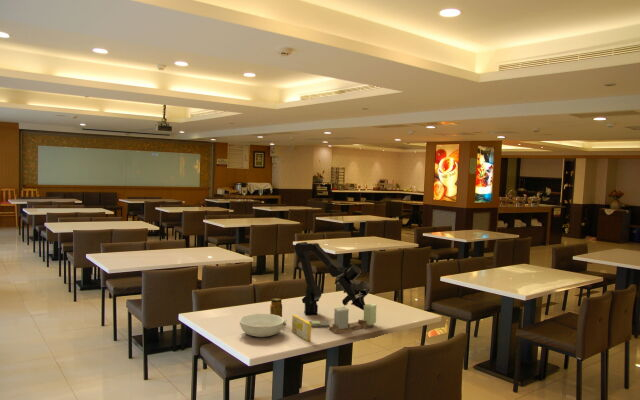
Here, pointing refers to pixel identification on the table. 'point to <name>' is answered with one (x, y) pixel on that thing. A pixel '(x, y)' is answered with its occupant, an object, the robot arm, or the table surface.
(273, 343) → the table surface
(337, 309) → the slate key
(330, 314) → the table surface
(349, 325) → the brown holder tray
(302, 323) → the candy box
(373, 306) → the sage key
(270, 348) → the table surface
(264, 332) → the serving bowl
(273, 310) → the condiment
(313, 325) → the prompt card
